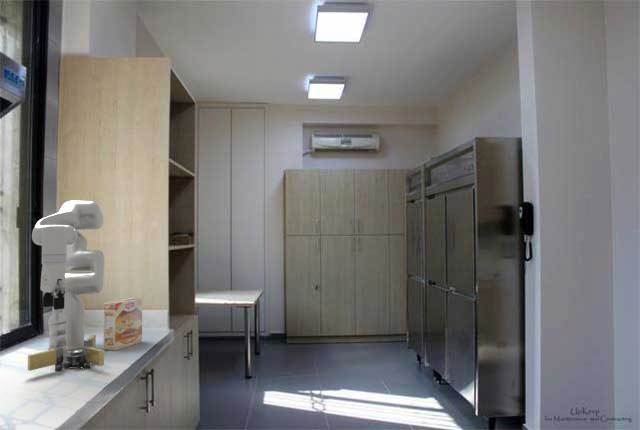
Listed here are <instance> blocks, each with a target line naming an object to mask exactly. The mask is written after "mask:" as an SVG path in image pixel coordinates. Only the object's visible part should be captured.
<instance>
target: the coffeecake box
mask: <svg viewBox="0 0 640 430" xmlns="http://www.w3.org/2000/svg"><path fill="white" fill-rule="evenodd" d="M142 342H143V298H142V297H129V298H123V299H121V298H120V299H117V300H116V299H115V300H111V301H105V302H104V303H103V347H102V348H103V349H102V350H108V351H109V350H110V351H118V350H121V349H124V348H126V347H127V348H128V347H130V346H133V345H136V344H139V343H142Z"/></svg>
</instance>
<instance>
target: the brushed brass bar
mask: <svg viewBox="0 0 640 430" xmlns="http://www.w3.org/2000/svg"><path fill="white" fill-rule="evenodd" d="M62 364H64V361H63V348H56V349H53V350H48V349H47V350H45V351H40V352H36V353H30V354H27V371H31V372H32V371H34V370H35V371H36V370H39V369H43V368H47V367H52V366H54V371H55V372H60V371H63V369H62Z"/></svg>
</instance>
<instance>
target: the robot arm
mask: <svg viewBox="0 0 640 430" xmlns="http://www.w3.org/2000/svg"><path fill="white" fill-rule="evenodd" d="M103 224H104V216H103V213H102V210H101V208H100V206H99V204H98V203H97V202H95V201H93V200H69V201H66V202H64V203H63V204H62V205H61V207H60V209H59V210H58V212H57V213H53V214H51V215H48V216H46V217H45V216H44V217H42V218H41V219H39V220H38V221H37V222H36V224H35V225H34V227H33V229H32V232H31V233H32V234H31V239H32V242H33V243H34V244H35V245H37V246H41V265H42V267H41V275H40V276H41V277H40V291H42V307H43V308H49V307H54V310H57V309H63V310H64V311H63V313H64V314H65V316H66V317H67V326H66V345H67V350H68V351H75V350H79V349H83V347H84V340H85V313H86V312H85V310H86V309H85V302H84V301H83V299H82V298H80V295H95V294H99V293H101V292H102V290H103V286H104V275H105V274H104V273H105V255H104V252H103V251H102V250H101V249H88V239H87V238H86V237H85V236H84V235H83V234H82V233H81V232H80V231H79V230H99V229H101V228H102V226H103ZM66 271H68V272H66Z"/></svg>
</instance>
